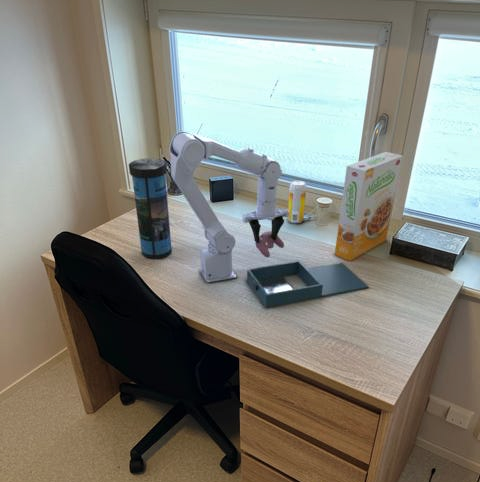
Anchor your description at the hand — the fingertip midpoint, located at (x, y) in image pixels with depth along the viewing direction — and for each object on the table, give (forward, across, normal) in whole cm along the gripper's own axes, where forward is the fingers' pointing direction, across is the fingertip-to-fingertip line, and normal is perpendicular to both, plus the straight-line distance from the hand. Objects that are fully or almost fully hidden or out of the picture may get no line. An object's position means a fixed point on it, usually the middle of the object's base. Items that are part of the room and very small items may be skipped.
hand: (265, 240), depth 145 cm
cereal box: (+9, +37, +1) cm, 38 cm away
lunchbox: (+9, +7, -16) cm, 19 cm away
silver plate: (+9, -2, -16) cm, 18 cm away
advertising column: (+9, -31, +20) cm, 38 cm away
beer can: (+9, +25, +29) cm, 39 cm away
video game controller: (+5, +2, +1) cm, 5 cm away
